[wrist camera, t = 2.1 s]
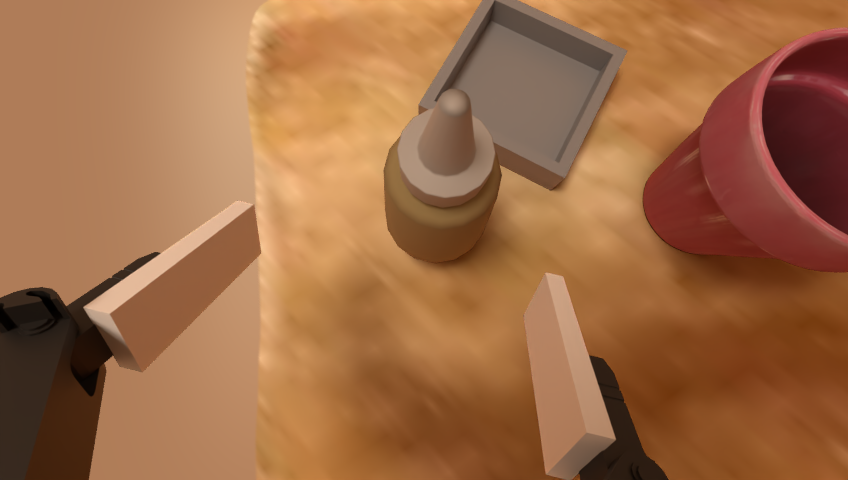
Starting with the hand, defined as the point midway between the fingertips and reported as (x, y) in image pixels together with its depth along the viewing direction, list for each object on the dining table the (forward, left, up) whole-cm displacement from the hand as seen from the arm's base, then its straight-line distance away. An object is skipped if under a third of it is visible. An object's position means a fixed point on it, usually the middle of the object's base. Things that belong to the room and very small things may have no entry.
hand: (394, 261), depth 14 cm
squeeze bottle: (0, -6, -14) cm, 15 cm away
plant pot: (-20, -19, -14) cm, 30 cm away
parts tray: (-1, -21, -14) cm, 25 cm away
